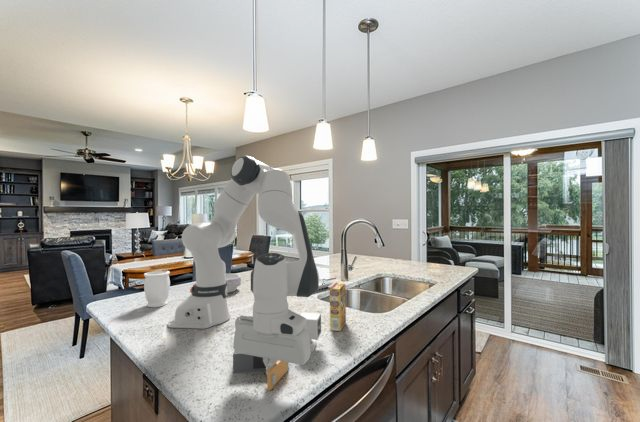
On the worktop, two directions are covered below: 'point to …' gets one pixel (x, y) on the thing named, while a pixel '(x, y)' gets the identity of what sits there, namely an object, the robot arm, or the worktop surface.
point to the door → (276, 373)
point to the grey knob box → (247, 363)
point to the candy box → (337, 307)
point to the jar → (157, 288)
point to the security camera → (313, 327)
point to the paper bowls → (232, 282)
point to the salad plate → (328, 283)
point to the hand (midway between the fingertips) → (270, 374)
